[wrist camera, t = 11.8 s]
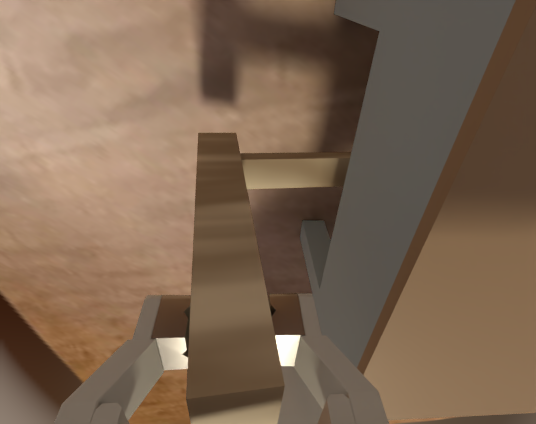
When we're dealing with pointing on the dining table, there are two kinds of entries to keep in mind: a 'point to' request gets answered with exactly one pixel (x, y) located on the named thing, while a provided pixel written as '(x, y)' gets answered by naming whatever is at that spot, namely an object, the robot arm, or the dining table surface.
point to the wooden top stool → (438, 212)
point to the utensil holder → (297, 400)
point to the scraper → (238, 280)
